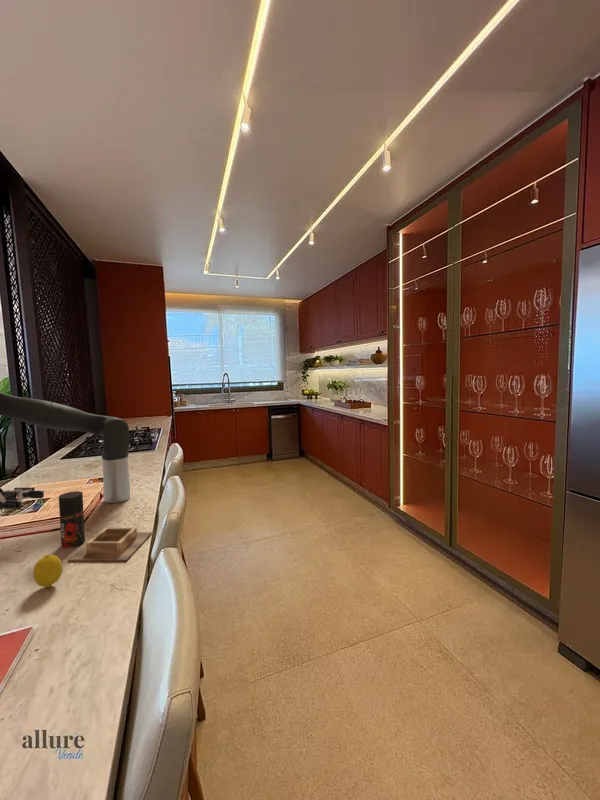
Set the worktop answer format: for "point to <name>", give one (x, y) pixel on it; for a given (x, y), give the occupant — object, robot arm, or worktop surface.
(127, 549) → the socket
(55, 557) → the lemon
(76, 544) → the deodorant
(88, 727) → the worktop surface
